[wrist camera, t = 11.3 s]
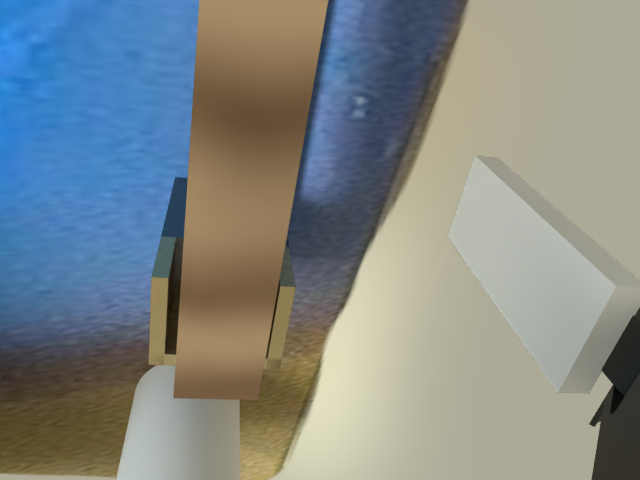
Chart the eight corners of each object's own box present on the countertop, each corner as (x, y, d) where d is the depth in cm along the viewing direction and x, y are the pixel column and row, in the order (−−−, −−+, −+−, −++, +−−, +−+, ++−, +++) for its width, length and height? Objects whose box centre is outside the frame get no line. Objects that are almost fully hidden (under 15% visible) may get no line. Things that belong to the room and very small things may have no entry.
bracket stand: (272, 265, 41) (284, 378, 31) (171, 257, 39) (148, 374, 29) (368, -318, 25) (460, -484, 15) (204, -371, 23) (180, -597, 13)
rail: (253, 300, 33) (258, 400, 26) (186, 296, 32) (173, 398, 25) (347, -325, 19) (409, -463, 12) (234, -362, 18) (234, -531, 11)
